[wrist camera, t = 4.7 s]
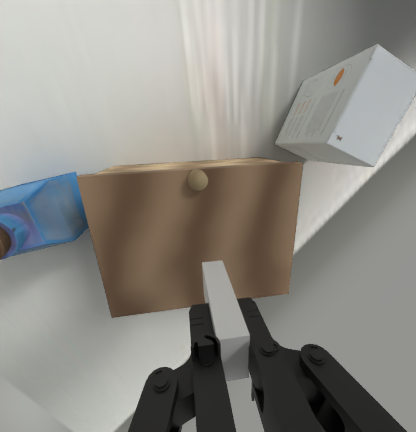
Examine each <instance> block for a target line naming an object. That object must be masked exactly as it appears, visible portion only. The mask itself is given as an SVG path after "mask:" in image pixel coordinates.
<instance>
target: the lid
mask: <svg viewBox="0 0 416 432" xmlns="http://www.w3.org/2000/svg"><path fill="white" fill-rule="evenodd" d="M302 169H303V163H302V162H298V161H296V162H280V163H264V164H248V165H232V166H216V167H199V168H183V169H167V170H151V171H135V172H119V173H103V174H87V175H80V176H78V177H76V178H77V182H78V186H79V190H80V194H81V198H82V202H83V206H84V210H85V214H86V218H87V222H88V226H89V230H90V233H91V237H92V241H93V245H94V249H95V253H96V257H97V261H98V265H99V269H100V273H101V277H102V281H103V285H104V289H105V293H106V297H107V301H108V305H109V308H110V312H111V316H112V318H114V317H121V316H128V315H136V314H143V313H150V312H157V311H165V310H172V309H179V308H187V307H191V306H192V305H196V304H204V303H205V297H204V288H203V271H202V262H211V261H220V260H222V261H223V263H224V266H225V269H226V271H227V274H228V277H229V280H230V282H231V285H232V288H233V291H234V293H235V296H236V299H239V298H247V297H250V298H251V299H252V298H260V297H267V296H273V295H281V294H289V285H290V277H291V267H292V259H293V250H294V241H295V232H296V223H297V214H298V205H299V196H300V187H301V178H302Z"/></svg>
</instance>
